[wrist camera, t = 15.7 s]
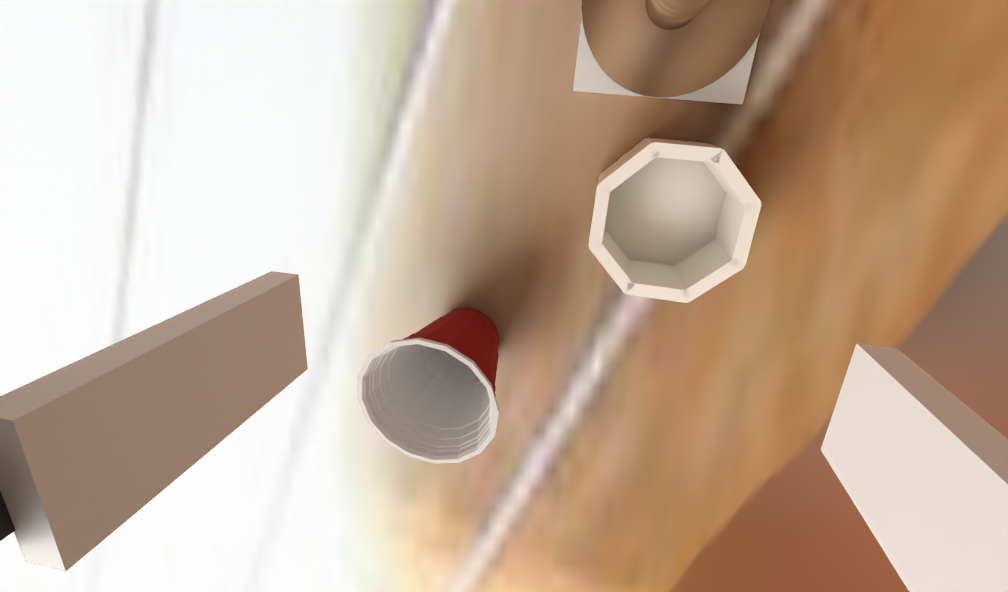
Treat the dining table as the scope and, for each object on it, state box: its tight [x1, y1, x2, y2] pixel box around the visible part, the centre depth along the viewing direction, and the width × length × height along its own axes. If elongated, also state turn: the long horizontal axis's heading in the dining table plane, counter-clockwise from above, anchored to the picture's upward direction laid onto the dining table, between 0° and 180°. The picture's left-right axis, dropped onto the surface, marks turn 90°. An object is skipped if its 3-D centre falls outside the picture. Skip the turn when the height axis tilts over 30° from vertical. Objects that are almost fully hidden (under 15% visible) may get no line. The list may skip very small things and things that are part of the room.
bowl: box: [588, 138, 762, 303], centre depth 36 cm, size 10×10×6 cm
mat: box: [573, 20, 760, 105], centre depth 34 cm, size 12×12×1 cm
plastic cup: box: [358, 308, 499, 463], centre depth 41 cm, size 11×11×12 cm
